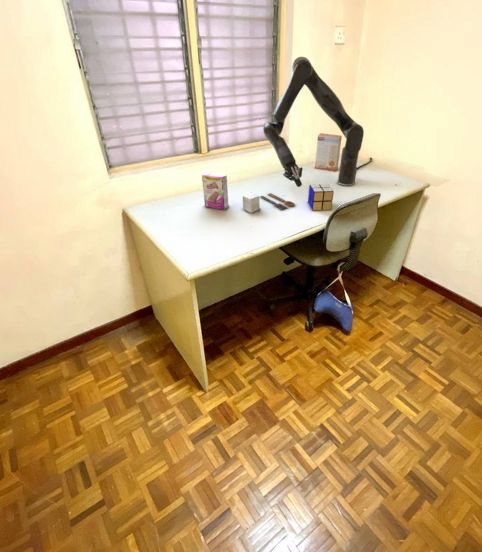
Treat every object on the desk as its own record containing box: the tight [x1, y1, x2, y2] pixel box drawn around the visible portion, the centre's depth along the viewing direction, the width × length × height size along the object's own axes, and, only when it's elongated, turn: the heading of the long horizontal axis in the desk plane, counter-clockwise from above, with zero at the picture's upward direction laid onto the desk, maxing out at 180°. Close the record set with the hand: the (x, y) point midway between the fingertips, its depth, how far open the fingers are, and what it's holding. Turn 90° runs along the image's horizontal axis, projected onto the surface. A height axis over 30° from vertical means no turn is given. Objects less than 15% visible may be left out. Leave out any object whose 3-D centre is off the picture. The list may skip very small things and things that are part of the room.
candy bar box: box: [201, 171, 229, 211], centre depth 162 cm, size 11×5×16 cm, turn 71°
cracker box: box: [314, 133, 343, 172], centre depth 211 cm, size 14×6×21 cm, turn 66°
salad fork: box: [260, 195, 288, 211], centre depth 172 cm, size 4×19×1 cm, turn 39°
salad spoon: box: [267, 193, 295, 208], centre depth 175 cm, size 4×19×1 cm, turn 39°
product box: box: [242, 192, 261, 214], centre depth 163 cm, size 6×6×7 cm
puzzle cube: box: [307, 183, 334, 211], centre depth 167 cm, size 10×10×10 cm
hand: (300, 186), depth 177 cm, fingers closed
